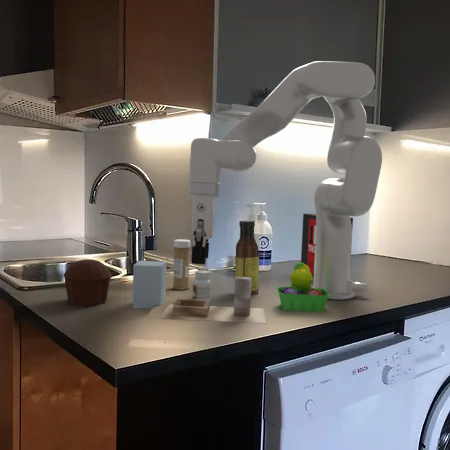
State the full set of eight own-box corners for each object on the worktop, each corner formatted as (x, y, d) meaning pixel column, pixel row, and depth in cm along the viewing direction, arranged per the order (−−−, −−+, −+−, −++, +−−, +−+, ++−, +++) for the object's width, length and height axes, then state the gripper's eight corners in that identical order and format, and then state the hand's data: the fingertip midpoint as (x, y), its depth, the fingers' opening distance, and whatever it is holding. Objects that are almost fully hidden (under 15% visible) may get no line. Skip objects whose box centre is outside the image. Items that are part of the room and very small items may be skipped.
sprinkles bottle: (192, 289, 139) (193, 240, 138) (177, 290, 137) (178, 241, 135) (184, 286, 143) (185, 238, 142) (169, 287, 140) (170, 239, 139)
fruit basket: (278, 315, 116) (280, 266, 115) (276, 305, 124) (278, 260, 123) (328, 317, 115) (331, 268, 114) (322, 307, 124) (325, 262, 123)
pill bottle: (192, 300, 127) (193, 269, 126) (209, 300, 127) (210, 270, 126) (192, 304, 122) (193, 273, 122) (210, 305, 123) (211, 273, 122)
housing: (165, 302, 124) (166, 261, 123) (160, 309, 117) (161, 266, 116) (139, 301, 124) (139, 260, 123) (132, 307, 117) (133, 265, 117)
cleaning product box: (349, 282, 156) (353, 218, 155) (323, 283, 154) (326, 217, 152) (324, 272, 172) (327, 213, 170) (300, 273, 170) (303, 213, 168)
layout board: (263, 312, 117) (265, 274, 116) (265, 327, 105) (267, 285, 104) (168, 308, 118) (169, 270, 117) (160, 323, 106) (161, 280, 105)
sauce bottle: (261, 294, 136) (264, 220, 134) (254, 299, 130) (258, 222, 128) (237, 291, 138) (240, 219, 136) (230, 296, 132) (233, 220, 130)
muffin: (60, 297, 125) (61, 257, 124) (106, 294, 129) (106, 256, 128) (66, 309, 114) (67, 265, 113) (116, 306, 119) (116, 264, 118)
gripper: (217, 191, 113) (213, 267, 115) (221, 191, 131) (217, 256, 132) (184, 189, 114) (180, 265, 115) (192, 189, 131) (188, 254, 132)
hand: (200, 260), depth 123 cm, fingers open, 9 cm apart
